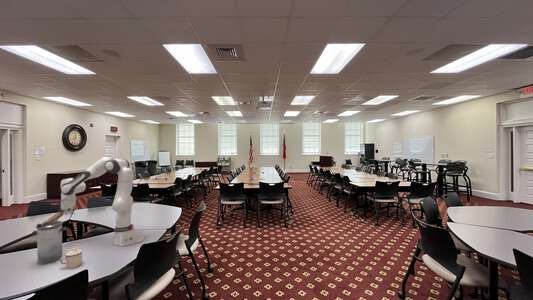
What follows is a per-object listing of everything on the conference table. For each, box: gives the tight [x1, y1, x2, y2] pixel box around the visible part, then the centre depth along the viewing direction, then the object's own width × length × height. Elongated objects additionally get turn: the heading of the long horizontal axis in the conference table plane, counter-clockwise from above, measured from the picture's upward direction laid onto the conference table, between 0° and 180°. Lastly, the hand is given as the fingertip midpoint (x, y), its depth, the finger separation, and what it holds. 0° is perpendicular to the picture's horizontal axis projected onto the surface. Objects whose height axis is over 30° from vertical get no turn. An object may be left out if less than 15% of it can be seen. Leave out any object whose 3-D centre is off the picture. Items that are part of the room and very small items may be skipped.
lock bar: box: [44, 209, 64, 226], centre depth 175 cm, size 3×28×5 cm, turn 27°
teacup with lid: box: [59, 247, 83, 269], centre depth 158 cm, size 12×9×12 cm
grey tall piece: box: [31, 219, 67, 266], centre depth 166 cm, size 18×14×28 cm
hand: (68, 213), depth 198 cm, fingers open, 8 cm apart
